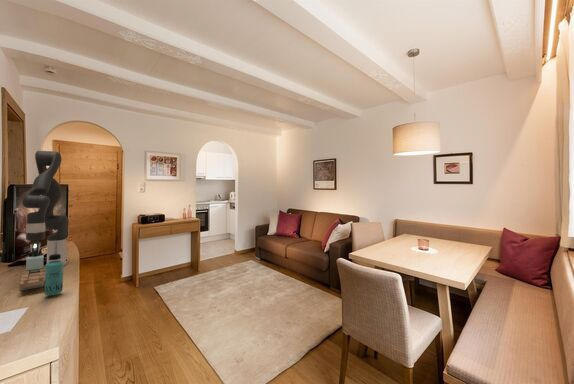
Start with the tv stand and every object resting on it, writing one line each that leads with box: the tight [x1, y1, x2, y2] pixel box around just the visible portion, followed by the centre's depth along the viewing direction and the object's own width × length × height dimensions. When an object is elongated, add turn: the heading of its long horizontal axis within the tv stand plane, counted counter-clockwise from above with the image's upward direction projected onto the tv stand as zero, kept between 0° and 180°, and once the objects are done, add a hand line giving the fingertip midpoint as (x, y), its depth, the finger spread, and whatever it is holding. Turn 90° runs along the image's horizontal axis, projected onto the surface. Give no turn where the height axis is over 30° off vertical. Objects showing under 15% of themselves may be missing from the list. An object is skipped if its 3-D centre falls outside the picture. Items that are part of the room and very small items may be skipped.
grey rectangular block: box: [25, 254, 45, 273], centre depth 131 cm, size 5×6×8 cm
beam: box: [19, 267, 46, 292], centre depth 126 cm, size 24×10×8 cm, turn 45°
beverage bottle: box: [43, 254, 64, 296], centre depth 117 cm, size 6×7×20 cm
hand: (35, 262), depth 135 cm, fingers closed
